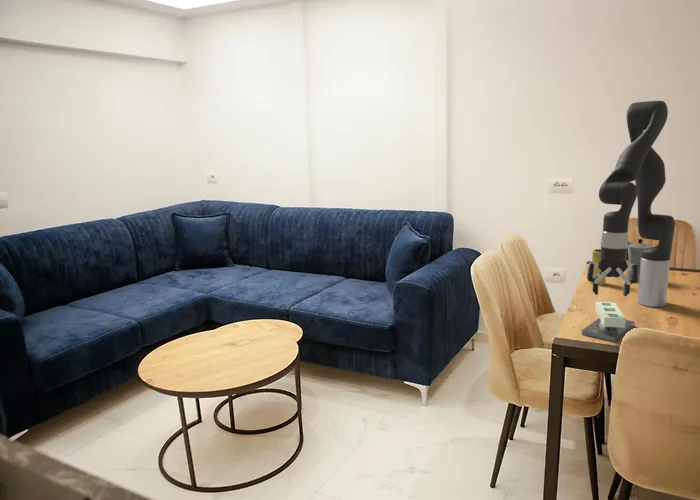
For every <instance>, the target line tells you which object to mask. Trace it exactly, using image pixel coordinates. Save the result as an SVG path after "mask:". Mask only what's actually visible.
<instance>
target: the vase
mask: <svg viewBox="0 0 700 500" xmlns="http://www.w3.org/2000/svg"><path fill="white" fill-rule="evenodd" d="M600 253H601V248H599V249H598V248H597V249H595V248H594V249H592V258H591V259H592V260H591V262H592V263H599V262H600ZM600 271H601V270H600V269H599V267H597V268H596V269H595V270H593V278H595V277H596V276H597V274H598V273H599V272H600ZM606 278H607V276H605V277H604V278H603V279H601V280H600V281H599V282H598V284H599V285H598V286H604V285H606V284H607V283H606V282H607V281H606ZM589 283H590V284H591V285H593V282H589Z"/></svg>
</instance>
